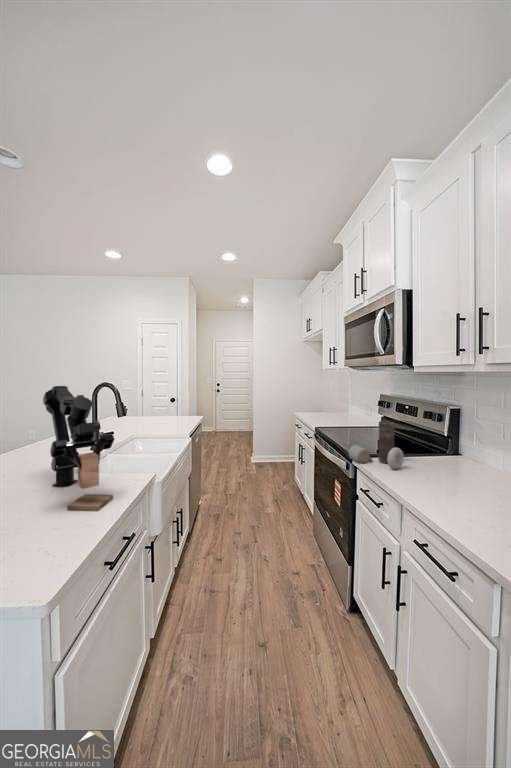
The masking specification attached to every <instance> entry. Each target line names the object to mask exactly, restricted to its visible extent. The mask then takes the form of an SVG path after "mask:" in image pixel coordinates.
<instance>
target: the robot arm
mask: <svg viewBox="0 0 511 768" xmlns="http://www.w3.org/2000/svg"><path fill="white" fill-rule="evenodd" d="M42 401H43V402H42V403H43V405H44V406H45V410H46V411H47V412H48V413H49V414H50V415H51V417H52V422H53V429H54V435H55V439H56V440H53V441H52V443H51V447H50V451H49V453H50V456H51V458H52V460H51V462H50V465H51V470H52V471H53V472H55V483H53V484H52V487H70V486H72V485H73V484H75V483H78V479H75V470H74V469H75V468H77V469H78V467H79V468H81V462H80V459H79V456H78V455H80V453H79V451H77V449H83V448H84V449H85V448H91V447H93V451H92V453H93V452H94V453H96V454H97V455H99V461H100V460H101V459H100V458H101V452H103V450H104V451H105V450H109V449H111V448H112V446H113V444H114V441H115V437H114V435H113V434H112V433H107V434H101V435H100V436H99V438H98V439H94V437H95V434H94V433H96V432H99V431H100V430H101V423H100V421H99V420H94V421H92V422H87V419H88V417H89V416H90V413H91V410H92V407H93V401H92V400H90V399H89V398H88V397H85V396H84V394H77V395H76V396H74V395H73V393H72V392H71V391H70V390H69V388H68V386H66V385H55V386H52V388H51V389H49V390H48V391H46V392H45V393H44V395H43V398H42ZM66 416H67V418H66ZM68 428H69V429H68ZM69 432H70V435H69ZM70 439H71V440H72V441H71V440H70Z"/></svg>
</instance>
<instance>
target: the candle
mask: <svg viewBox="0 0 511 768" xmlns="http://www.w3.org/2000/svg"><path fill="white" fill-rule="evenodd" d="M394 447H395V423H394V422H389V421H378V461H379V462H380V463H382V464H388V462H387V457H388V453H389V451H390V450H391V449H392V448H394Z"/></svg>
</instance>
